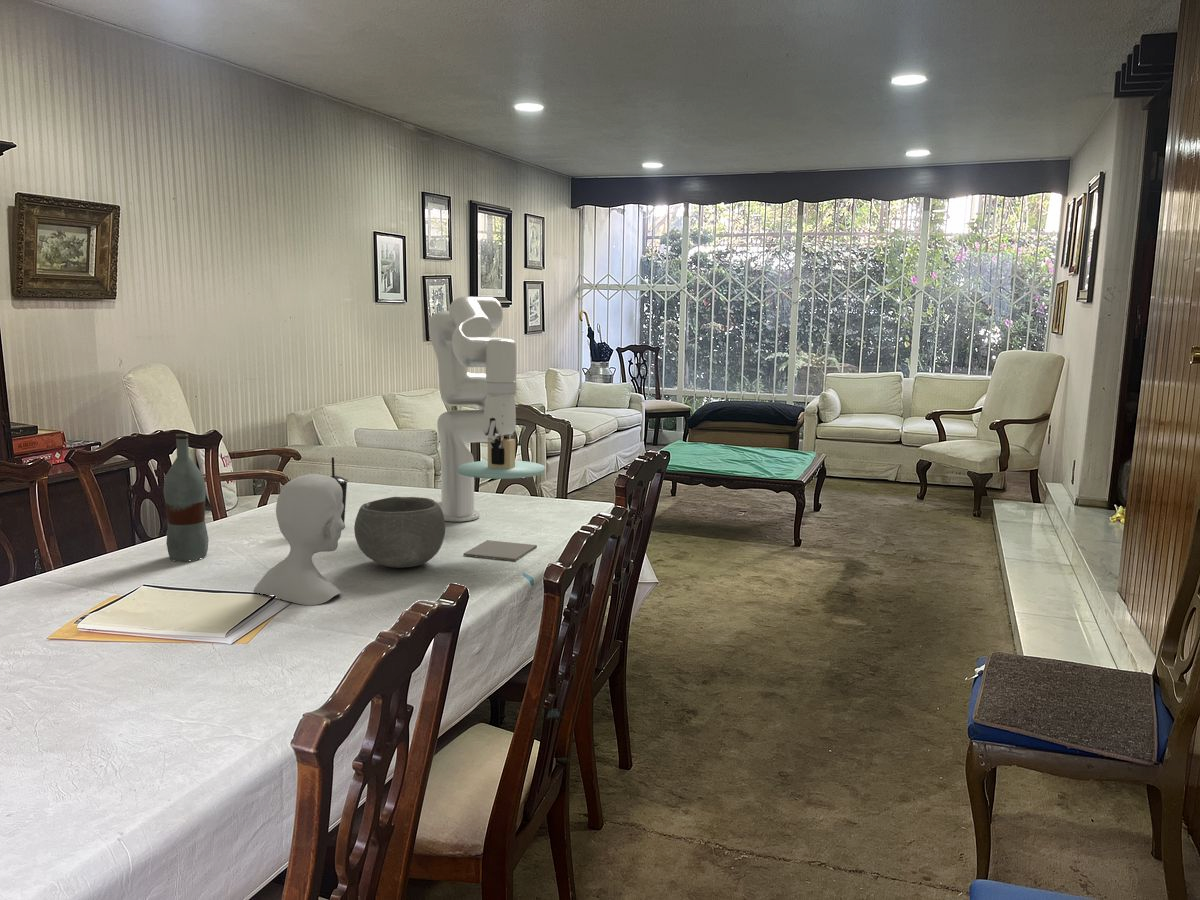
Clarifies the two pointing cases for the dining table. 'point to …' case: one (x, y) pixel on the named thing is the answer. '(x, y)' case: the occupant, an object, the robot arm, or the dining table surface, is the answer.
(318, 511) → the head bust
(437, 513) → the bowl
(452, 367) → the robot arm
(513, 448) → the lid
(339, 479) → the walkie talkie
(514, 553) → the mat
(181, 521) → the bottle
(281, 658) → the dining table surface
